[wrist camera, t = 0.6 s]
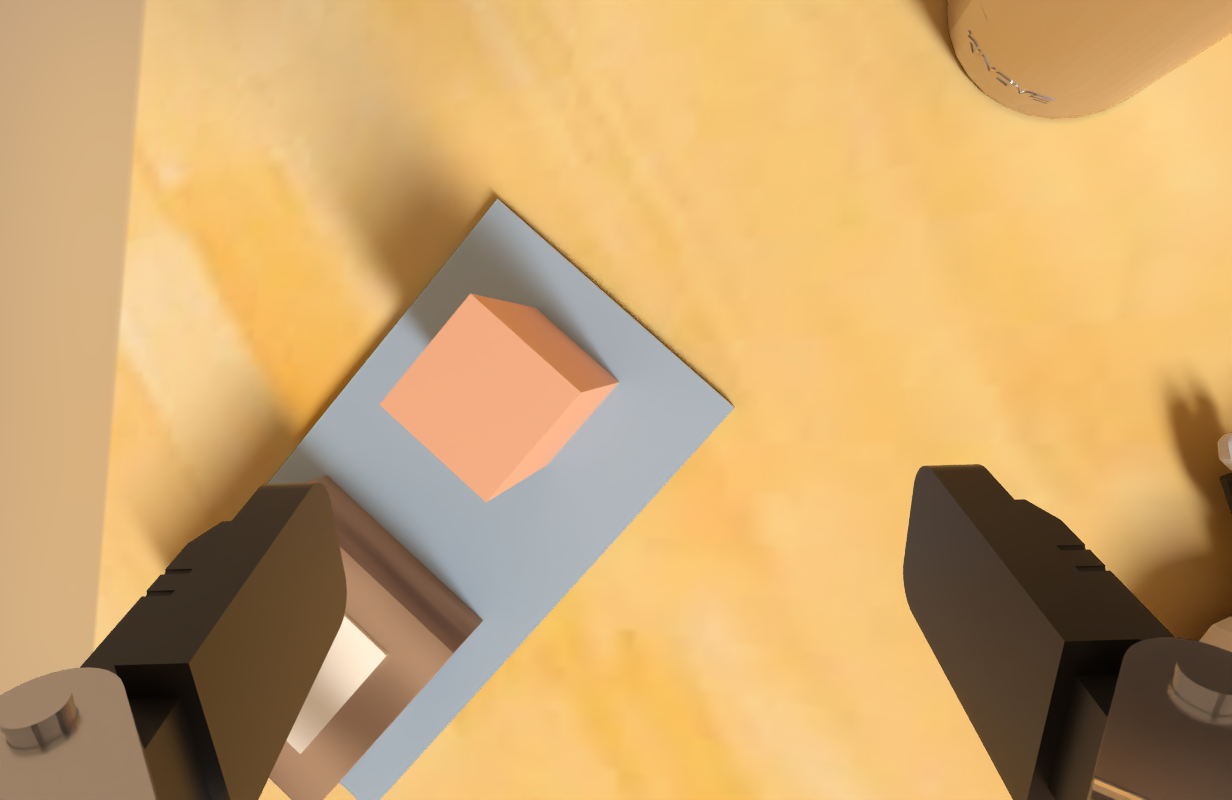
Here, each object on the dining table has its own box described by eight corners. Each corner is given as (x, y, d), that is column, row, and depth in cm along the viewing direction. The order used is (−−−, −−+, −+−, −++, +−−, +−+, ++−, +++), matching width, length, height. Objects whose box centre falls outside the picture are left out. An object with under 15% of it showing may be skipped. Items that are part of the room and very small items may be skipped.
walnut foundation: (327, 475, 38) (277, 490, 33) (483, 620, 37) (451, 654, 33) (204, 625, 39) (141, 657, 35) (352, 768, 38) (305, 818, 34)
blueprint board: (501, 201, 36) (497, 198, 36) (734, 406, 35) (734, 407, 35) (172, 608, 40) (163, 611, 39) (375, 804, 39) (369, 811, 38)
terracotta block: (535, 307, 36) (470, 293, 27) (619, 382, 35) (581, 392, 26) (466, 391, 36) (379, 404, 28) (547, 465, 36) (486, 502, 27)
